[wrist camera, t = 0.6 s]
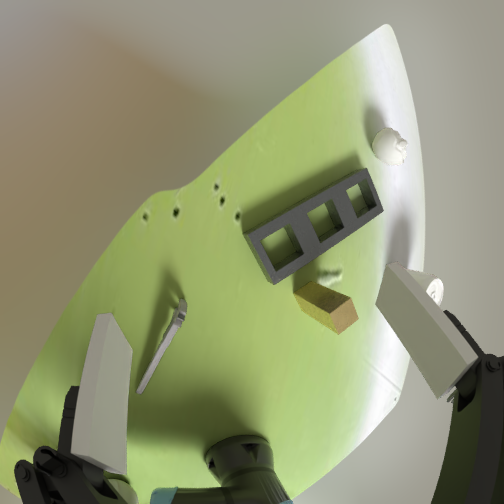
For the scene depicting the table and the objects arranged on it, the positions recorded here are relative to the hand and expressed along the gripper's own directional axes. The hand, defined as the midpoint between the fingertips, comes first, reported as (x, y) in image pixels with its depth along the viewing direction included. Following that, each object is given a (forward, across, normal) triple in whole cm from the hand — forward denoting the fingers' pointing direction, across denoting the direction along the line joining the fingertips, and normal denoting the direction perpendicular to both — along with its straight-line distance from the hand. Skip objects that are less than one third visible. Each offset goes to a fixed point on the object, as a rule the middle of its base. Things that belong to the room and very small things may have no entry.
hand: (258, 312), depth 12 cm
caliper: (+20, +14, +27) cm, 37 cm away
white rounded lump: (+39, -34, +3) cm, 52 cm away
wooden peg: (+25, -13, +25) cm, 38 cm away
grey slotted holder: (+31, -17, +13) cm, 38 cm away
